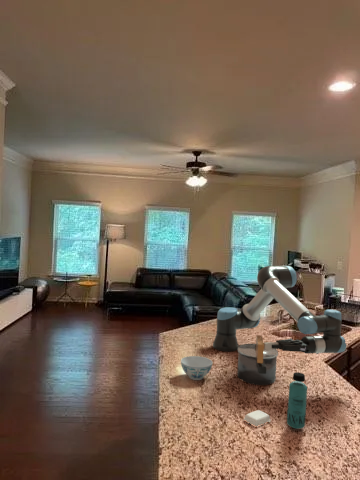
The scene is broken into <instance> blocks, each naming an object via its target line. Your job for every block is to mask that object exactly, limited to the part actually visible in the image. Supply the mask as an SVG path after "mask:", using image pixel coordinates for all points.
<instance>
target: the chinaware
mask: <svg viewBox="0 0 360 480" xmlns="http://www.w3.org/2000/svg"><path fill="white" fill-rule="evenodd" d="M180 365H181V367H182V371H183V372H184V373H185V374H186V375H187V376H188V378H189V379H190V380H192V381H200V380H203V379H204V377H205V376H207V375H208V374H209V373H210V371H211V369H212V367H213V360H212V359H210V358H208V357H205V356H199V355H191V356H190V355H188V356H184V357H182V358H181V359H180Z"/></svg>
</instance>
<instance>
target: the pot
mask: <svg viewBox="0 0 360 480" xmlns="http://www.w3.org/2000/svg"><path fill="white" fill-rule="evenodd" d="M277 357H278V356H277ZM277 357H275V358H270V359H263V363H257V358H252V357H247V356H244V355H242V354H240V353H239V352H238V360H237V378H238V379H239V380H240V379H241V380H240V381H243V382H244V383H247V384H251V385H257V386H266V385H267V386H269V385H272V384H274V383H275V382H276V376H277V359H278V358H277Z"/></svg>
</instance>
